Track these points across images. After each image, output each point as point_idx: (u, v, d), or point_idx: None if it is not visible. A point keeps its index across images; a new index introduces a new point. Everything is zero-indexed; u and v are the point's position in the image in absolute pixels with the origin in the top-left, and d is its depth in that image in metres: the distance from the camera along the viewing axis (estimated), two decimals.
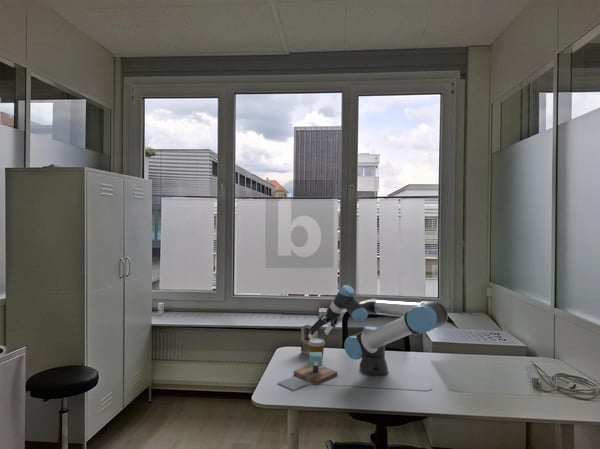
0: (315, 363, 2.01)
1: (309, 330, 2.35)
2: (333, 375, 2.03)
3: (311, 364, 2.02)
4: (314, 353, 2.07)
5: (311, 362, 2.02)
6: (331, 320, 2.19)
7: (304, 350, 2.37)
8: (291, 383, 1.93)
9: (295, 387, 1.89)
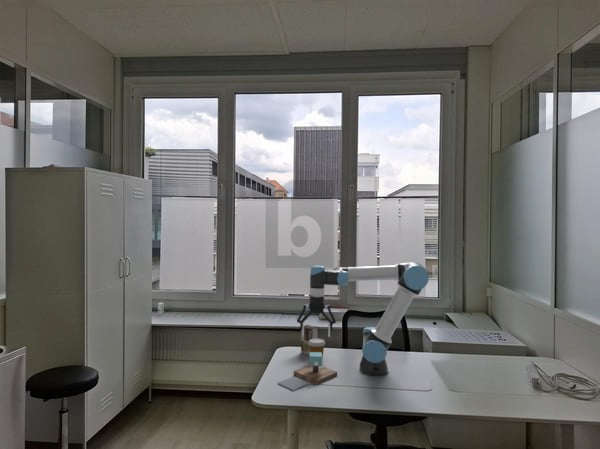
0: (315, 363, 2.01)
1: (309, 330, 2.35)
2: (333, 375, 2.03)
3: (311, 364, 2.02)
4: (314, 353, 2.07)
5: (311, 362, 2.02)
6: (319, 311, 2.04)
7: (304, 350, 2.37)
8: (291, 383, 1.93)
9: (295, 387, 1.89)
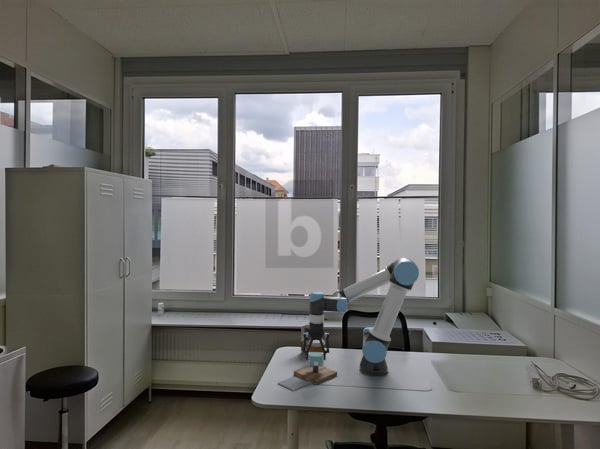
0: (315, 363, 2.01)
1: None
2: (333, 375, 2.03)
3: (311, 364, 2.02)
4: (314, 353, 2.07)
5: (311, 362, 2.02)
6: None
7: None
8: (291, 383, 1.93)
9: (295, 387, 1.89)
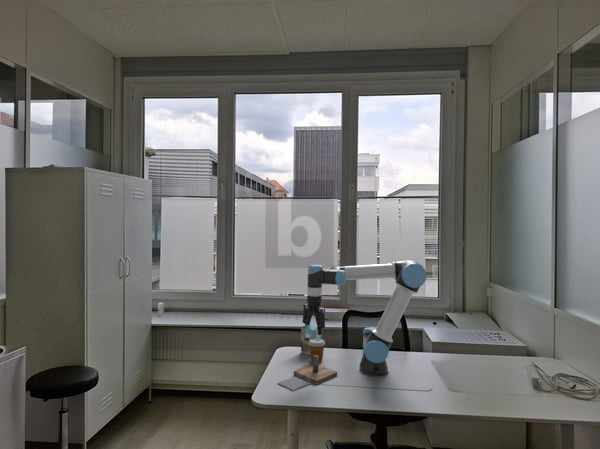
0: (306, 335, 2.01)
1: None
2: (333, 375, 2.03)
3: (305, 335, 2.03)
4: (315, 326, 2.05)
5: (305, 333, 2.03)
6: None
7: (304, 350, 2.37)
8: (291, 383, 1.93)
9: (295, 387, 1.89)
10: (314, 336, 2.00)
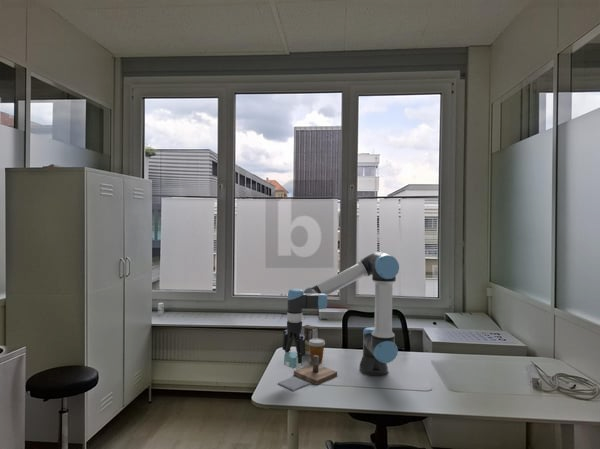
0: (286, 363, 1.91)
1: (309, 330, 2.35)
2: (333, 375, 2.03)
3: (285, 363, 1.93)
4: (295, 353, 1.95)
5: (285, 361, 1.93)
6: None
7: None
8: (291, 383, 1.93)
9: (295, 387, 1.89)
10: (294, 364, 1.90)
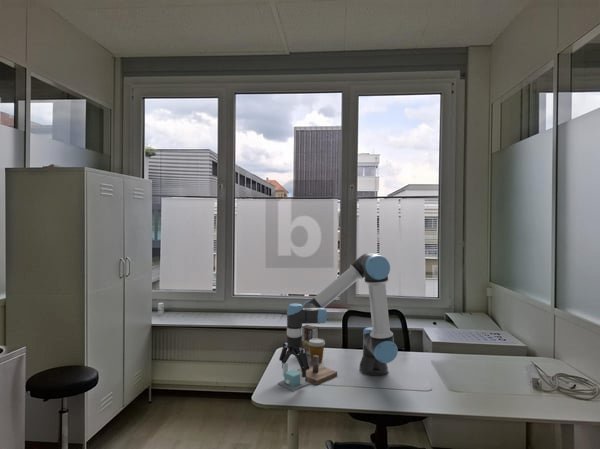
0: (286, 381, 1.91)
1: (309, 330, 2.35)
2: (333, 375, 2.03)
3: (285, 381, 1.93)
4: (295, 371, 1.96)
5: (285, 379, 1.93)
6: None
7: None
8: None
9: (295, 387, 1.89)
10: (294, 383, 1.90)
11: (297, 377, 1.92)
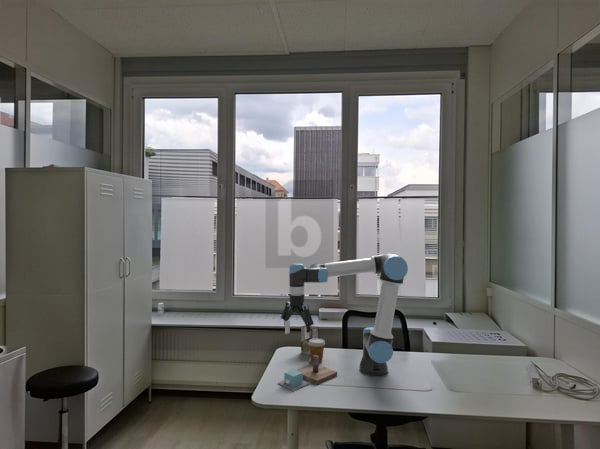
0: (286, 381, 1.91)
1: None
2: (333, 375, 2.03)
3: (285, 381, 1.93)
4: (295, 371, 1.96)
5: (285, 379, 1.93)
6: None
7: (304, 350, 2.37)
8: None
9: (295, 387, 1.89)
10: (294, 383, 1.90)
11: (297, 377, 1.92)
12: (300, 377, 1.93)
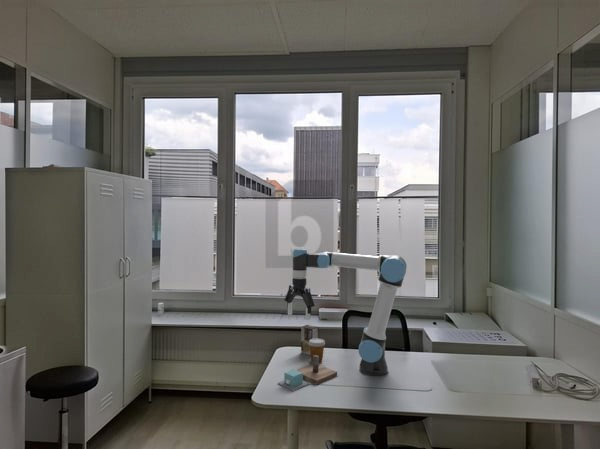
0: (286, 381, 1.91)
1: (309, 330, 2.35)
2: (333, 375, 2.03)
3: (285, 381, 1.93)
4: (295, 371, 1.96)
5: (285, 379, 1.93)
6: None
7: (304, 350, 2.37)
8: None
9: (295, 387, 1.89)
10: (294, 383, 1.90)
11: (297, 377, 1.92)
12: (300, 377, 1.93)
